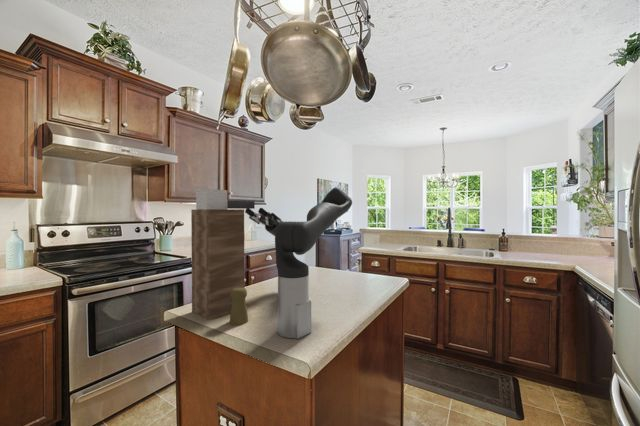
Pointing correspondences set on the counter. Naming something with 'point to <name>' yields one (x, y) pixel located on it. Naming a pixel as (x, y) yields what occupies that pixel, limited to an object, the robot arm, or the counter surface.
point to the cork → (238, 307)
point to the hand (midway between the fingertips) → (252, 209)
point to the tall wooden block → (216, 259)
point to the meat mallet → (219, 200)
